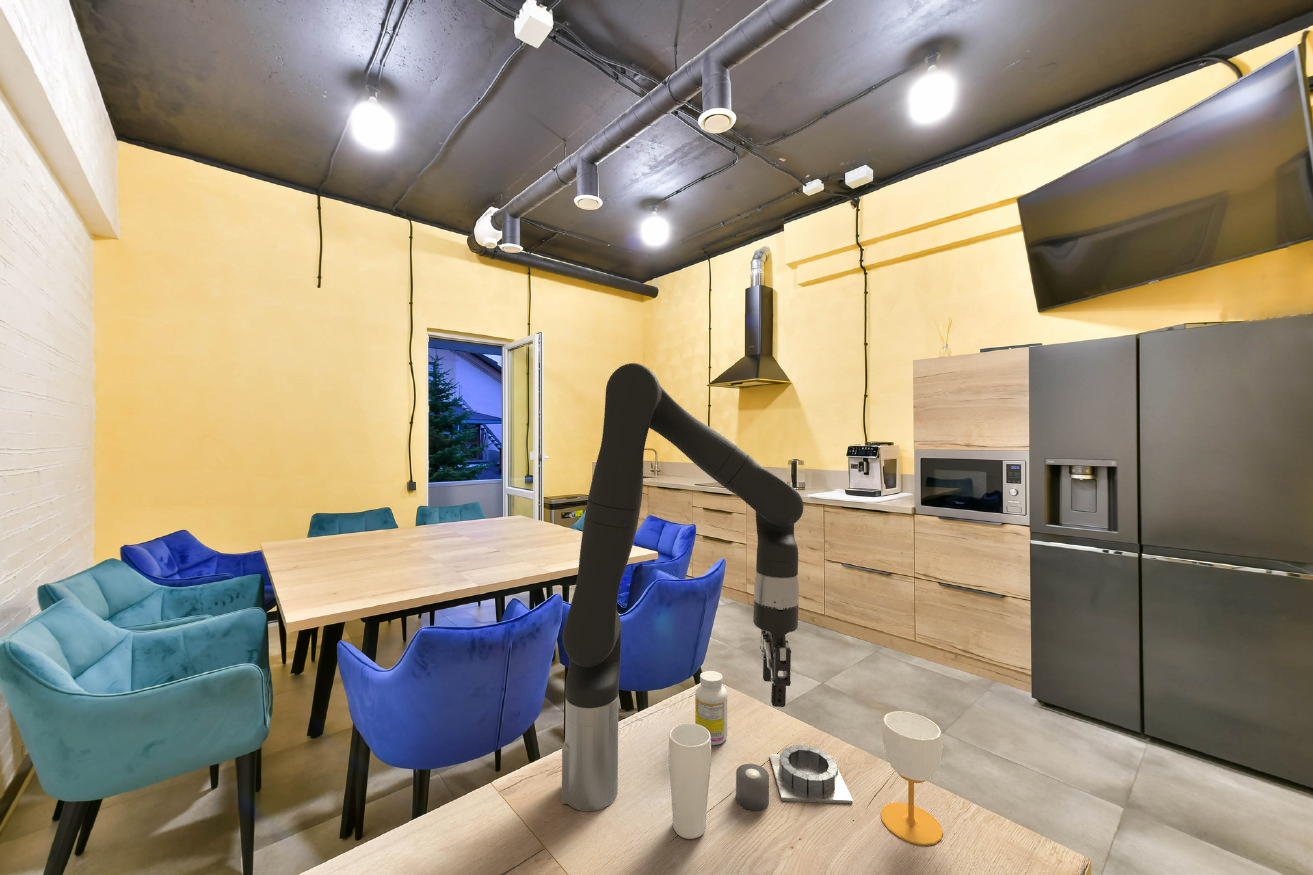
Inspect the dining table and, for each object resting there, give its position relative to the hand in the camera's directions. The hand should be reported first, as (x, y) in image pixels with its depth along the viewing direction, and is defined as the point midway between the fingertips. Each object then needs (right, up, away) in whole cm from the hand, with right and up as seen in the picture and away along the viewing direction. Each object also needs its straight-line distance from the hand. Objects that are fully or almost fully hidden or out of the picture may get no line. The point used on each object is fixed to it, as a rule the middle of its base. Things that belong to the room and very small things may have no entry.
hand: (773, 692), depth 87 cm
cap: (-4, -19, 0) cm, 19 cm away
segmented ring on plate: (+8, -19, +6) cm, 21 cm away
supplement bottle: (-9, -19, +18) cm, 28 cm away
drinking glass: (-15, -19, -6) cm, 25 cm away
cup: (+21, -19, -5) cm, 29 cm away
